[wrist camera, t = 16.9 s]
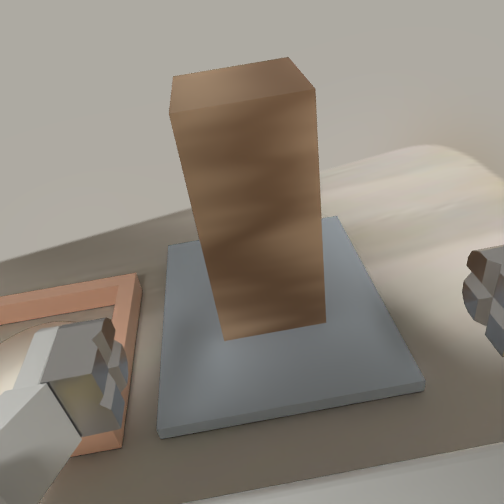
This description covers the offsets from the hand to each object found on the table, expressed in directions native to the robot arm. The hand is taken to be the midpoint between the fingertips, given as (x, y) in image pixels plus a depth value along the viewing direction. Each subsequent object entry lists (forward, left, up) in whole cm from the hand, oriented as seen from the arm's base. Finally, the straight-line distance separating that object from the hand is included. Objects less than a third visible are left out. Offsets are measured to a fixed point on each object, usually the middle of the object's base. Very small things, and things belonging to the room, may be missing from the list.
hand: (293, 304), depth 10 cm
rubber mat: (0, +8, -8) cm, 11 cm away
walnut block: (0, +8, -7) cm, 11 cm away
